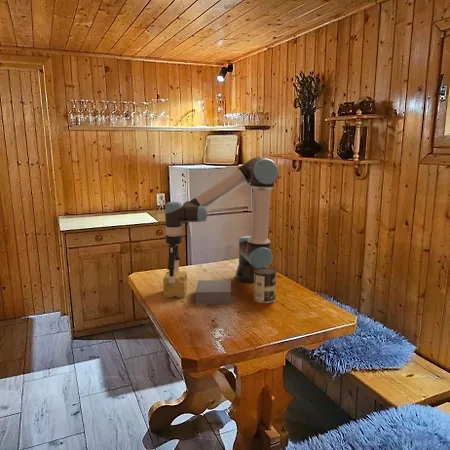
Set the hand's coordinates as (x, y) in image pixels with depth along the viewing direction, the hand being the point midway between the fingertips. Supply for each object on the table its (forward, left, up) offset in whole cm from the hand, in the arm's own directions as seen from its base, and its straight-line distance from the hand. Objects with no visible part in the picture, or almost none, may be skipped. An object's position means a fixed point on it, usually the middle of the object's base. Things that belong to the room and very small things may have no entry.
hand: (174, 277), depth 196 cm
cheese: (0, 0, -9) cm, 9 cm away
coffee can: (-43, +6, -9) cm, 45 cm away
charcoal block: (-19, +4, -9) cm, 22 cm away
